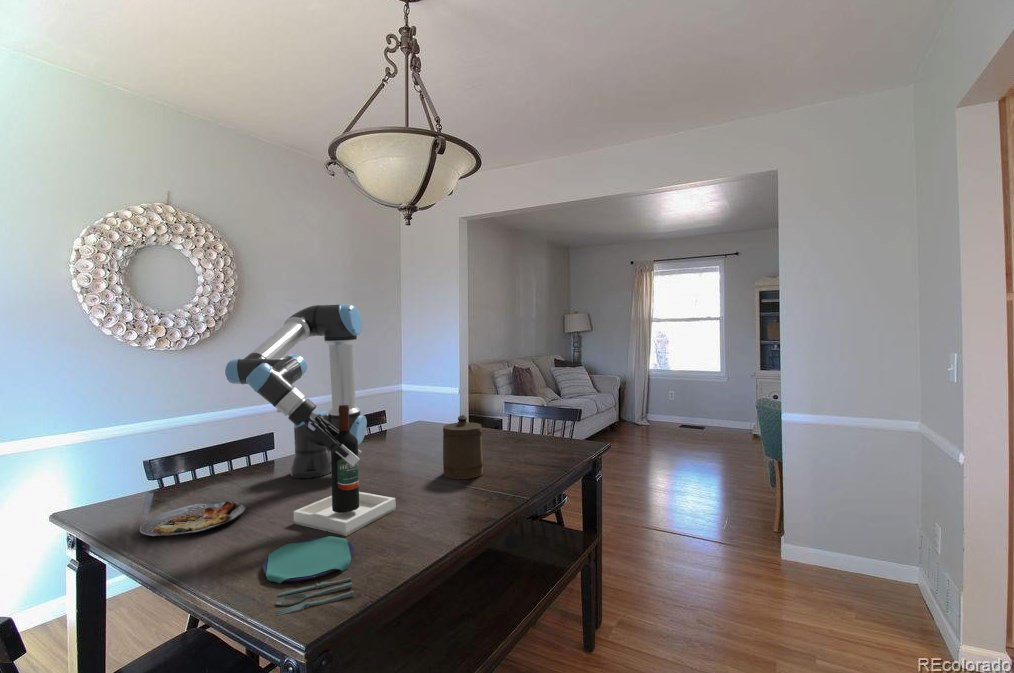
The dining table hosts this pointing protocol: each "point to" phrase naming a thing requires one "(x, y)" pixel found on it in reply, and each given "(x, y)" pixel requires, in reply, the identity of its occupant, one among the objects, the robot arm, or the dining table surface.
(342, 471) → the wine bottle
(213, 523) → the food plate
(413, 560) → the dining table surface
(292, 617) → the dining table surface
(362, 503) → the tray
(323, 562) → the cutlery set
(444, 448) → the wooden container
